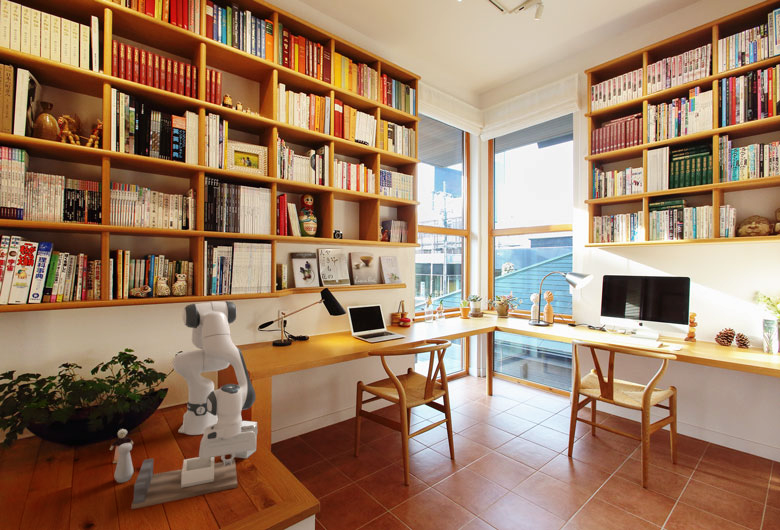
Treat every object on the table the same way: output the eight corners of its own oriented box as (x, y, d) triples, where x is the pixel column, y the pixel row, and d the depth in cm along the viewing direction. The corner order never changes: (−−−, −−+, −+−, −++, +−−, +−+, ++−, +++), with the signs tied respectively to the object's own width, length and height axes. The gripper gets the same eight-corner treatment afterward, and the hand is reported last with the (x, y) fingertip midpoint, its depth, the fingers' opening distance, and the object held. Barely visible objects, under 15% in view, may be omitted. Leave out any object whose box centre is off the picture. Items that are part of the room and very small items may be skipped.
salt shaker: (137, 477, 138) (138, 442, 138) (122, 485, 132) (123, 449, 132) (125, 474, 139) (126, 440, 139) (110, 482, 134) (111, 446, 134)
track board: (141, 480, 135) (142, 460, 136) (234, 463, 149) (235, 444, 149) (131, 509, 119) (132, 486, 119) (237, 487, 133) (238, 466, 133)
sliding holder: (183, 473, 138) (183, 459, 138) (213, 467, 143) (214, 454, 143) (181, 487, 129) (181, 473, 129) (213, 481, 133) (214, 467, 133)
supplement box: (246, 459, 153) (248, 428, 153) (231, 456, 154) (232, 426, 155) (256, 450, 160) (257, 421, 160) (241, 448, 162) (242, 420, 162)
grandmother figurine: (111, 465, 145) (112, 433, 145) (108, 462, 147) (109, 430, 148) (133, 458, 151) (135, 427, 151) (130, 455, 153) (131, 424, 154)
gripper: (256, 421, 148) (255, 456, 147) (200, 429, 139) (198, 466, 138) (258, 427, 142) (257, 463, 142) (199, 436, 133) (197, 474, 133)
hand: (227, 464), depth 140 cm, fingers closed
